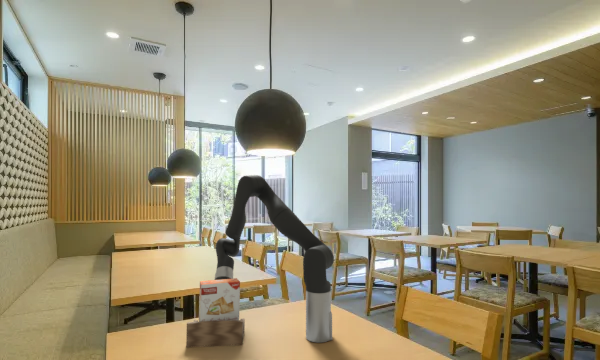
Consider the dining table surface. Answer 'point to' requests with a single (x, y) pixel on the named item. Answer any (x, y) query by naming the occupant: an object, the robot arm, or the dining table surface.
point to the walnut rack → (215, 333)
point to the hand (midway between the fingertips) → (218, 321)
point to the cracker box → (219, 300)
